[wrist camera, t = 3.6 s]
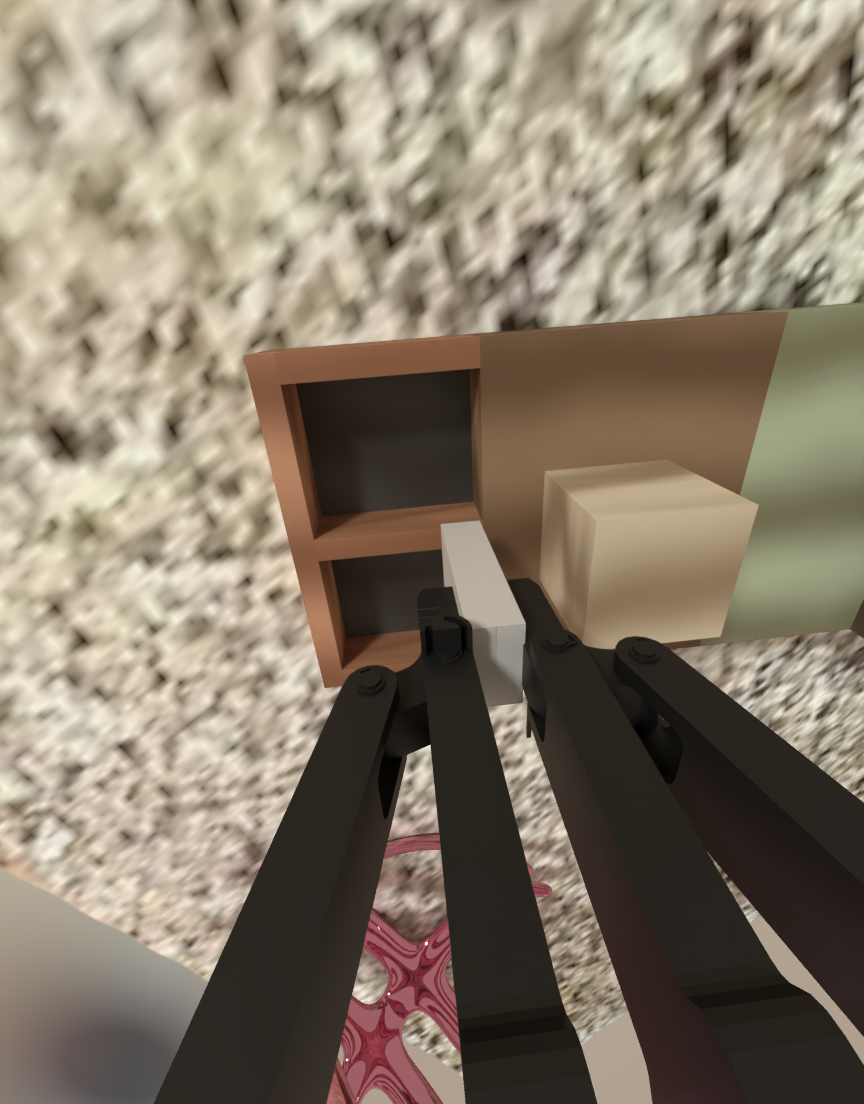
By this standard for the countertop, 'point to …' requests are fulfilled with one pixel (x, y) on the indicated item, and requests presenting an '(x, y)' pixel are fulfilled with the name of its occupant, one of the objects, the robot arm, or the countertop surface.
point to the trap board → (564, 459)
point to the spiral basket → (399, 1006)
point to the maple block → (641, 551)
